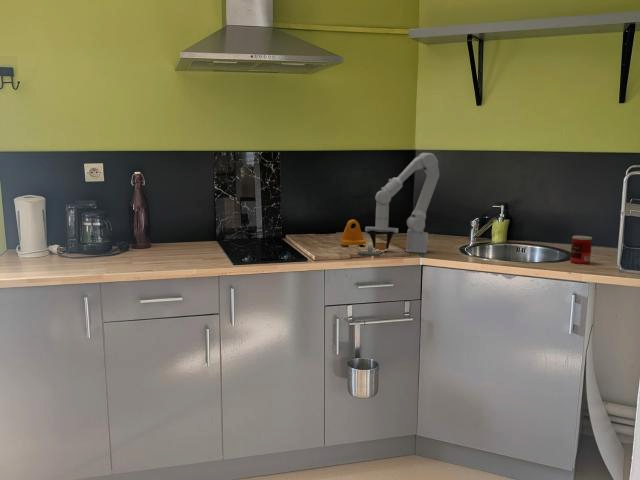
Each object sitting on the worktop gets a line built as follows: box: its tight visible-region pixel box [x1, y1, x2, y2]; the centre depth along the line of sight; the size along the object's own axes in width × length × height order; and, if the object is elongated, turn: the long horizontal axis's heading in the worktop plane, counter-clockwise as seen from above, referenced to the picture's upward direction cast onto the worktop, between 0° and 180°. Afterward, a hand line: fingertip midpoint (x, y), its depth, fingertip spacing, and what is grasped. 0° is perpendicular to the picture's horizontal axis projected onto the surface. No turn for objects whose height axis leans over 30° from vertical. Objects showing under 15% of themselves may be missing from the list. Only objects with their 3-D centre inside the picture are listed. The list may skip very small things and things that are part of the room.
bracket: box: [340, 219, 366, 246], centre depth 287 cm, size 11×7×12 cm
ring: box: [374, 241, 387, 250], centre depth 275 cm, size 5×5×4 cm
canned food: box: [569, 235, 593, 265], centre depth 257 cm, size 8×8×11 cm
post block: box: [357, 241, 381, 257], centre depth 267 cm, size 9×9×5 cm
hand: (380, 248), depth 275 cm, fingers closed on ring, 5 cm apart
